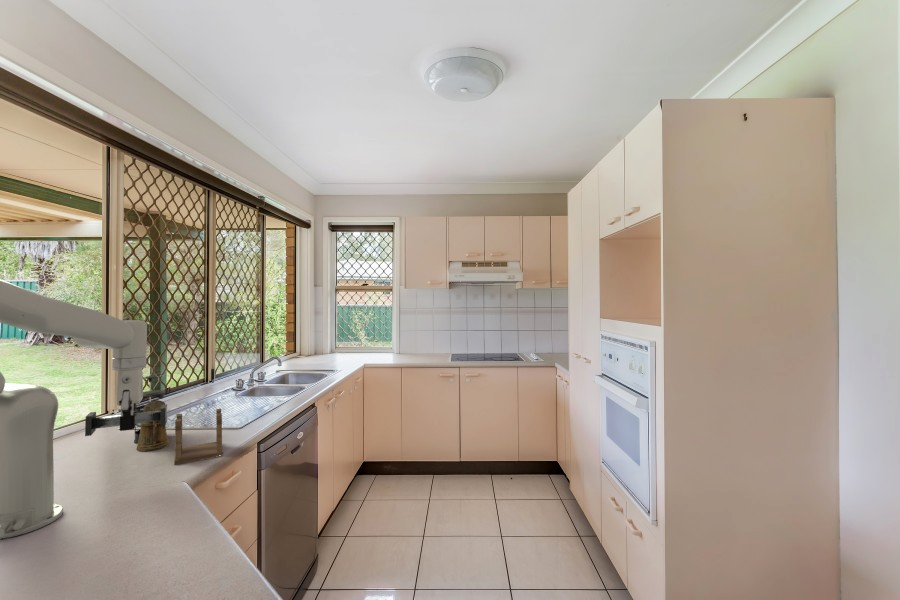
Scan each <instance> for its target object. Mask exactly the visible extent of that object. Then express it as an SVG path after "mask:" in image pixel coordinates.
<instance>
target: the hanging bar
mask: <svg viewBox="0 0 900 600" xmlns="http://www.w3.org/2000/svg"><path fill="white" fill-rule="evenodd" d="M134 415H135V424H139V423H147V422H156V421H160V427H162V426H165V427H166V425H167V422H168V404H166V403H165V405H162V407H161V410H160V411H151V412H142V413H134ZM120 416H121V414H117V415H107V416H98V417H97V411H91V412H89V413H88V414H86V416H85V422H84V423H85V425H84V428H85V429H84V436H85V437H89V436H90V437H91V436H92V435H93V434H94V433H95V432H96V430H97V429H103V428H113V427H120Z"/></svg>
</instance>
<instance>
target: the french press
mask: <svg viewBox="0 0 900 600" xmlns="http://www.w3.org/2000/svg"><path fill="white" fill-rule="evenodd" d="M156 378H158V375H148V376H144V377H143V380H148V383H149V390H148V391H143V399H142V400H141V402H143V401H144V400H145V399H148V398H149V402H151V401H152V397H156V398H157V399H160V400H161V399H164V398H165V393H166V391H165V390H164V389H163V390H161V389H159V390H158V389H157V390H155V389H154V390H152V387H151V386H152V384H151V383H152V380H153V379H156ZM145 405H146V404H141V405H138V406H136V411H135V412H137V413H142V412H144V411H143V408H144V406H145ZM137 427H139V428H140V429H137ZM140 430H141V423H139V424H136V426H135V428H134V439H133V440H134V441H133V443H134V444H136V445H137V444H138V441H139V436H140Z"/></svg>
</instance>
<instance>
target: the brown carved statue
mask: <svg viewBox="0 0 900 600" xmlns="http://www.w3.org/2000/svg"><path fill="white" fill-rule="evenodd" d="M144 405H145V406H144V408H143V409H142V410H143V411H144V412H151V411H160V410H161V407H162V405H166V402H164V401H162V400H159V399H154V400H151V402H150V401H149V402H147V403H146V404H144ZM140 429H141V430H140ZM140 429H139V430H140V436H139V441H138V444H136V451H138V452H150V451H155V450H161V449H163V448H165V447H167V446H168V445H169V444H170V442H169V438H168V434H167V427H166V425H165V426H162V427H160V421H156V422H147V423H141V427H140Z"/></svg>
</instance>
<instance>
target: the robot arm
mask: <svg viewBox="0 0 900 600" xmlns="http://www.w3.org/2000/svg"><path fill="white" fill-rule="evenodd" d="M0 324H3V325H8V326H10V327H13V328H17V329H19V330H22V331H23V330H24V331H27V332H33V333H38V334H43V335H44V334H45V335H54V336H63V337H70V338H73V341H74V342H75V343H76V344H77V345H78V346H80V347H83V348H85V349H103V350H104V349H108V350H112V362H111V363H112V365H111V367H112V368H111V369H112V371H117V375H116V405H117V406H118V407H120V415H121V416H120V426H119V431H121V432H122V431H130V430H135V426H136V424H135V415H134V413H137V412H135V411H136V407H137V405H139V404H140V403H141V402H142V401H141V400H142V399H143V392H144V385H143V383H144V379H143V378H144V377H143V369H146V368H147V342H148V325H147V322H146V321H144V320H140V319H138V320H137V319H136V320H135V319H130V320H129V319H128V320H127V319H126V320H125V319H124V320H123V319H120V318H118V317H115V316H112V315H109V314H108V313H104V312H101V311H98V310H95V309H90V308H87V307H84V306H80V305H78V304H74V303H70V302H66V301H64V300H60V299H59V300H58V299H56V298H52V297H48V296H46V295H44V294H41V293H38V292H35V291H32V290H29V289H27V288H24V287H20V286H18V285H16V284H13V283H11V282H9V281H4V280H2V279H0ZM58 411H59V401H58V398H57V395H56V394H55V393H54V392H53V391H51V390H50V389H49V388H46V387H44V386H41V385H35V384H28V383H27V384H25V383H10V382H6V379H5V376H4V375H3V373H2V372H1V371H0V540H2V538H3V539H8V538H13V537H17V536H21V535H24V534H28V533H29V532H30V533H31V532H33V531H36V530H39V529H41V528H43V527H45V526H48V525H49V524H51V523H53V522H55V521H56V520H57V519H59V518H60V517H61V516H62V515H63V513H64V508H63V506H62V505H61V504H58V503H57V504H56V503H54V502H55V501H54V498H55V496H54V495H55V490H54V487H55V483H54V482H55V481H54V477H55V476H54V475H55V474H54V469H55V468H54V465H55V464H54V434H55V433H54V432H55V425H56V424H55V423H56V420H57V415H58ZM136 427H137V426H136Z"/></svg>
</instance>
